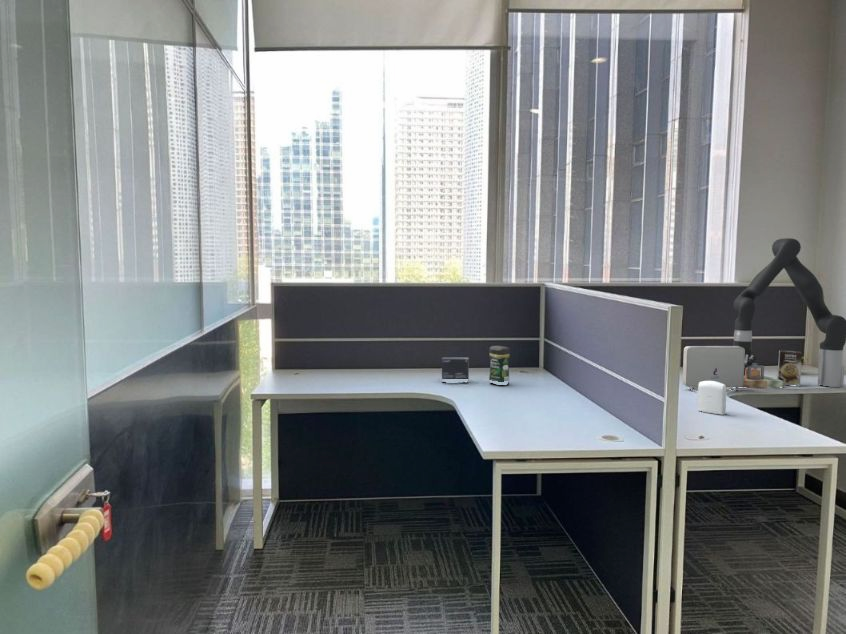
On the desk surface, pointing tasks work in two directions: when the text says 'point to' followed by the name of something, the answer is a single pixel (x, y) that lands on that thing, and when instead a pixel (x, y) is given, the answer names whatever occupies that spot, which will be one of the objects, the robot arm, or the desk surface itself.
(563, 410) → the desk surface
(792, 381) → the coffee box
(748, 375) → the square frames
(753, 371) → the block
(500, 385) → the desk surface
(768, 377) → the wooden cubby panel
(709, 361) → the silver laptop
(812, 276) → the robot arm
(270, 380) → the desk surface
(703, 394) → the photo printer
